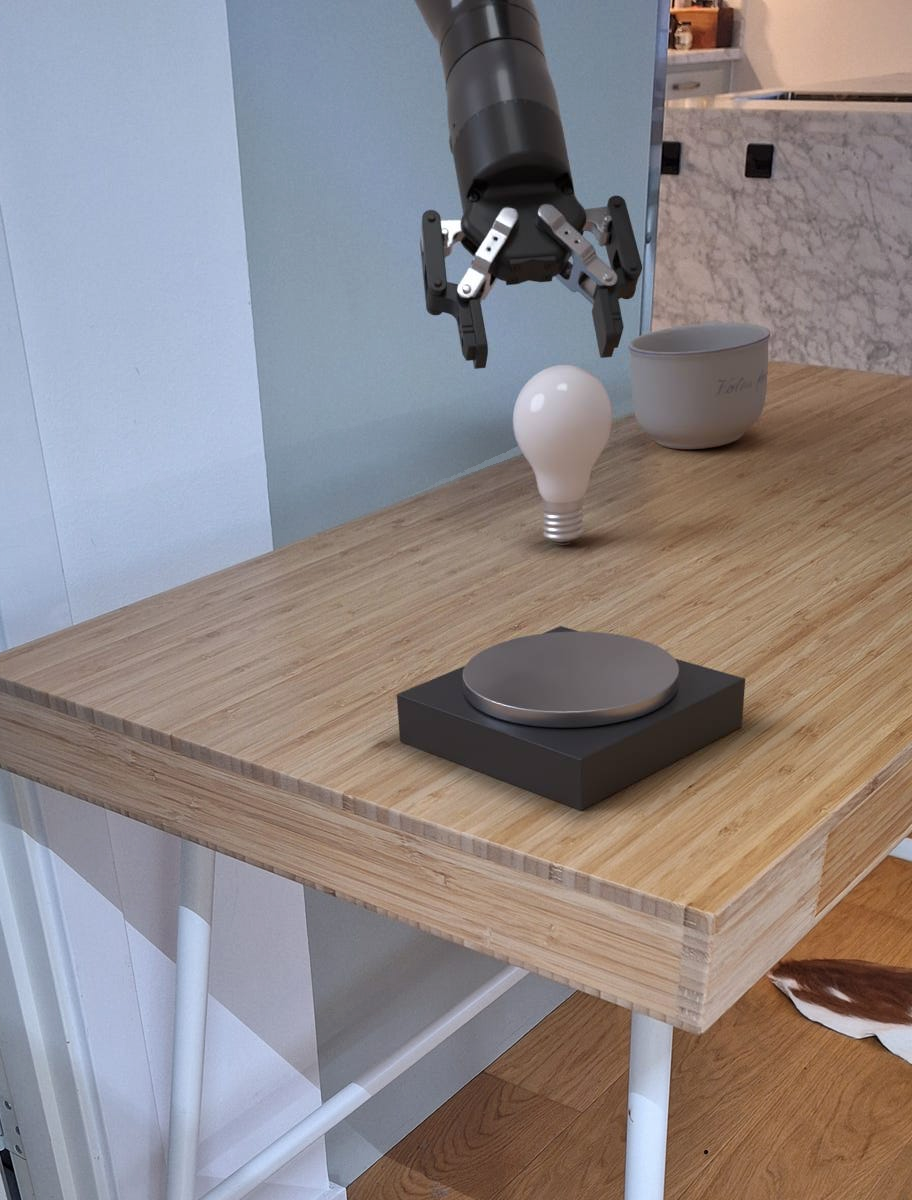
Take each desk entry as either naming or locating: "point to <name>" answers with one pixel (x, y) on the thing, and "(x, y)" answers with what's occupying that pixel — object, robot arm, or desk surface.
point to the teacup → (699, 382)
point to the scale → (571, 736)
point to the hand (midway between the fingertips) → (545, 355)
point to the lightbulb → (562, 441)
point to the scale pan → (570, 679)
